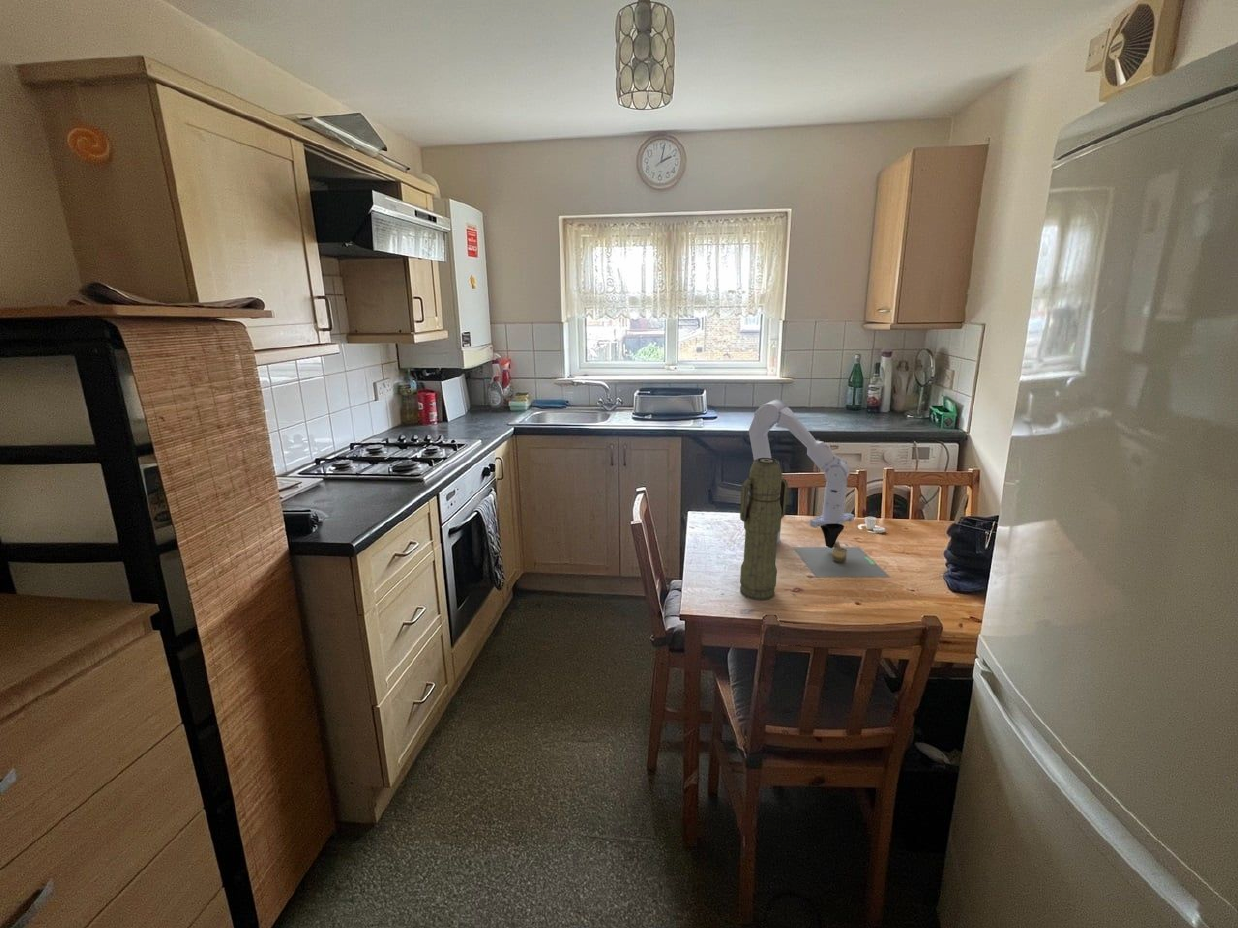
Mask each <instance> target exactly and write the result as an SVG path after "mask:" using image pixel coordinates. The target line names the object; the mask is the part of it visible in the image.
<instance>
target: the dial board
mask: <svg viewBox="0 0 1238 928" xmlns="http://www.w3.org/2000/svg"><path fill="white" fill-rule="evenodd" d="M840 547H841V548H844V549H846V550H847V554H846V561H845V562H836V561H834V560H833V559H832V555H833V548H829V547H827V546H793V547H792V548H793V550H794V551H795V553H797V556H799V557H800V559H801V560H802V561H803V563H804V564H805V565H806V567H807V568H808V569H809V571H810V572H811V573H812V574H813V575H814V577H815V578H890V577H891V576H890V575H889V574H888V573H887V572H886V571H884V569H883V568H882V567H881V566H880V565H878V564H877V563H876V562H875V561H874V560H873V559H872V558H871V557H870V555H868V554H867V553H866V552H865V551H864V550H863V549H862V548H861V547H859V546H840Z"/></svg>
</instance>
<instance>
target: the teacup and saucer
mask: <svg viewBox="0 0 1238 928" xmlns="http://www.w3.org/2000/svg"><path fill="white" fill-rule="evenodd" d="M864 522H865V523H861V524H858V525H857V528H858V530H863V528H862V527H866V529H867V532H868V533H870V534H871V533H872V534H876V533H877V534H880V533H881V534H882V533H885V532H886V528H885V527H882V526H879V525H876V524H877V517H874V516H866V517H865V516H864ZM869 530H870V531H869ZM872 530H873V531H872Z"/></svg>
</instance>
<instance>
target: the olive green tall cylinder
mask: <svg viewBox="0 0 1238 928" xmlns="http://www.w3.org/2000/svg"><path fill="white" fill-rule="evenodd" d="M771 458H772V457H771ZM771 458H758V459H757V460H754V459H753V461H752V464H751V467H750V470H749V477H747V479H745V480H744V481H743V483H741V488H740V489H741V493H740V508H739V511H740V512H739V518H740V519H739V520H740V521H741V522H743V528H744V531H745V532H744V533H745V534H744V549H743V561H742V563H741V565H740V574H739V575H740V576H739V577H740V578H739V579H740V580H739V583H740V587H739V589H740V590H739V592H740V593H741V595H742V596H744V597H745V598H748V599H751V600H754V601H767V600H771V599H773V598H774V596H775V588H776V586H777V577H778V574H777V573H778V570H777V569H778V568H777V566H776V563H777V562H776V559H777V547H778V543H777V537H778V532H779V531H780V525H781V526H782V519H783V518H784V517H785V516H786V513H787V511H786V510H787V501H788V500H787V498H788V488H789V487H788V486H789V485H788V482H787V480H786V479H785V478H784V477H783V473H782V467H781V464H780V461H778V460H777V459H775V458H772V459H771ZM779 494H780V497H779ZM781 518H782V519H781ZM780 532H781V531H780Z"/></svg>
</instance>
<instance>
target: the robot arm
mask: <svg viewBox="0 0 1238 928" xmlns="http://www.w3.org/2000/svg"><path fill="white" fill-rule="evenodd" d="M753 414H754V415H753V418H752V421H751V423H750V426H749V429H748V436H749V440H750V441H749V442H750V445H751V452H752V455H753V456H752V458H753V461H754V460H757V459H758V458H771V459H773V458H772V453H771V448H770V442H769V435H768V433H769V432H770V431H771V429H772V428H773V427H774V426H775V427H777V428H781V429H786V430H788V431H789V432H790V433H791V434H792V435H793V436H794V437H795V438H796V439H798V441H799V442H800V443H801V444H802V445H804V447H805V448H806V449H807V450H806V455H807V456H808V458H809V459H811V461H812V462H813V463H814V464H815V465H816V466H817V467H818V468H819V469H820V470H821V471H822V472H824V478H825V481H826V483H825V489H824V495H823V496H824V499H823V507H822V514H821V515H819V516H818V517H815V518H811V519H810V521H809V522H810V523H809V526H810V527H812V528H815V529H816V528H818V527H820V529H821V530H822V534H823V536H824V541H825V542H824V544H825V547H829V548H833V546H834V544H835V542H836V540H838V537H839V535H840V534H841V533H842V531H843V530H844V529H845V525H844V524H846V523H845V522H854V520H855V515H854V514H853V513H850V512H847V513H845V506H846V499H847V498H846V497H847V489H848V488H847V485H848V479H847V478H848V477H849V476H850V473H851V469H850V465H849V464H848V462H847V461H845V460H842V458H841V457H840V456H839V457H838V456H837V455H836V454H835V452H834V451H833V450H832V449H831V448H830V447H831V445H830V444H829V443H828V442H827V443H825V442H824V441H823V440H822V441H821V440H816V438H815V437H814V435H812V433H810V431H809V430H808V429H807V428H806V426H805V425H804V424H803V423H802V422H801V420H800V419H799V418H798V417H797V416H796V415H795V413H794V411H793V410H792V409H791V408H790V407H788V406H786V404H785V403H784V401H782V400H779V399H773V400H770V401H769V402H767V403H763V404H762V405H760V406H759V407H758V409H756V411H755V412H754V413H753ZM779 497H780V494H779ZM782 519H783V518H781V520H782ZM781 528H782V524H781V525H780V531H779V532H778V537H777V544H778V543H780V542H781V531H782V530H781Z"/></svg>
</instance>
